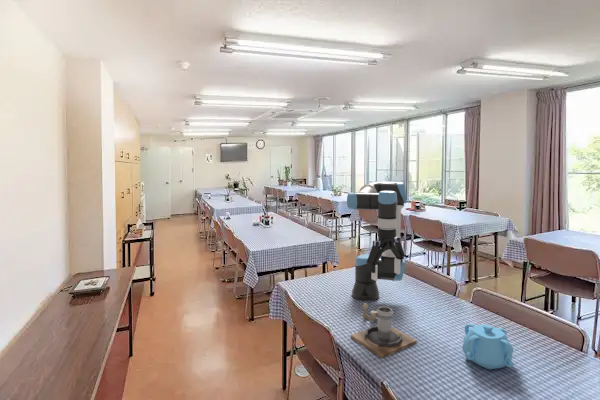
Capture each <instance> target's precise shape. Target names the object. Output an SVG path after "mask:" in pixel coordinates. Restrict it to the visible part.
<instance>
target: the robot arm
mask: <svg viewBox="0 0 600 400" xmlns="http://www.w3.org/2000/svg"><path fill="white" fill-rule="evenodd" d="M407 199H408V198H407V192H406V184H405V183H404V182H402V181H373V182H370V183H367V184H364V185H363V186H361V187H360V189H359V190H358V192H349V193H347V197H346V206H347V209H350V210H372V211H377V227H378V228H377V237H378V240H373V241H372V246H371V249H370V252H369V253H364V254H360V255H358V256H356V258H355V263H354V265H355V268H354V269H355V270H354V271H355V272H354V273H355V274H354V276H355V278H354V279H355V280H354V285H353V287H352V290H351V297H353V298H354V299H356V300H360V301H368V302H369V301H376V300H377V299H379V298H380V290H379V288H378V284H377V281H378V280H384V281H385V280H386V281H392V282H395V281H396V282H400V281H402V280H403V277H404V272H405V266H406V259H404V257H406V253H405V251H404V249H403V246H402V243H401V228H402V227H401V224H402V223H401V222H402V221H401V220H402V209H403V208H404V207H405V204H407V203H408V201H407Z"/></svg>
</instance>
